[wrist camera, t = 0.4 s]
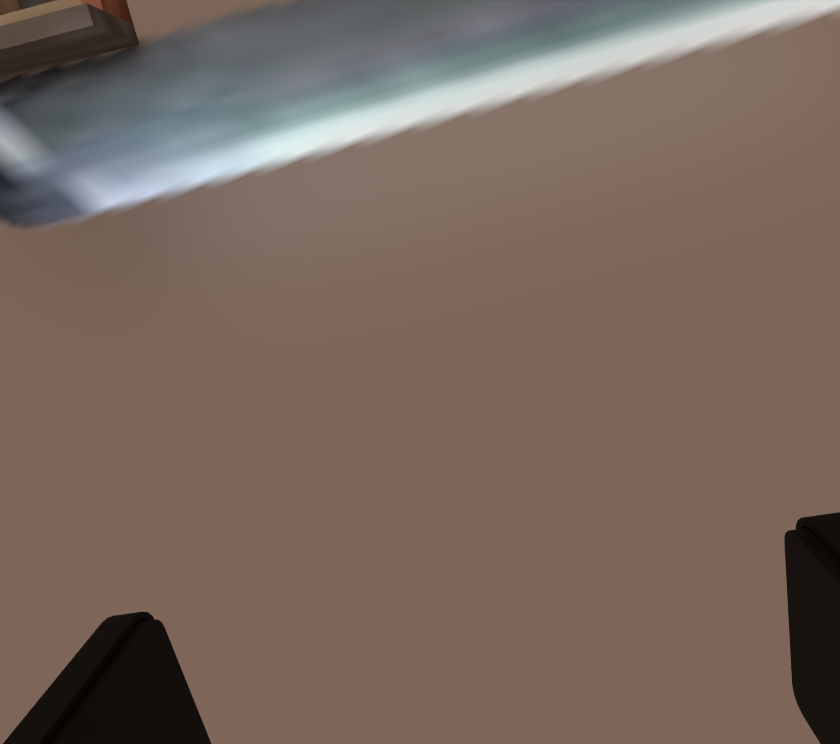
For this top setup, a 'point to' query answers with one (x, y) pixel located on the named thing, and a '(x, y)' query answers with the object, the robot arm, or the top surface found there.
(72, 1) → the box
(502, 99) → the top surface
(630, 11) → the top surface
